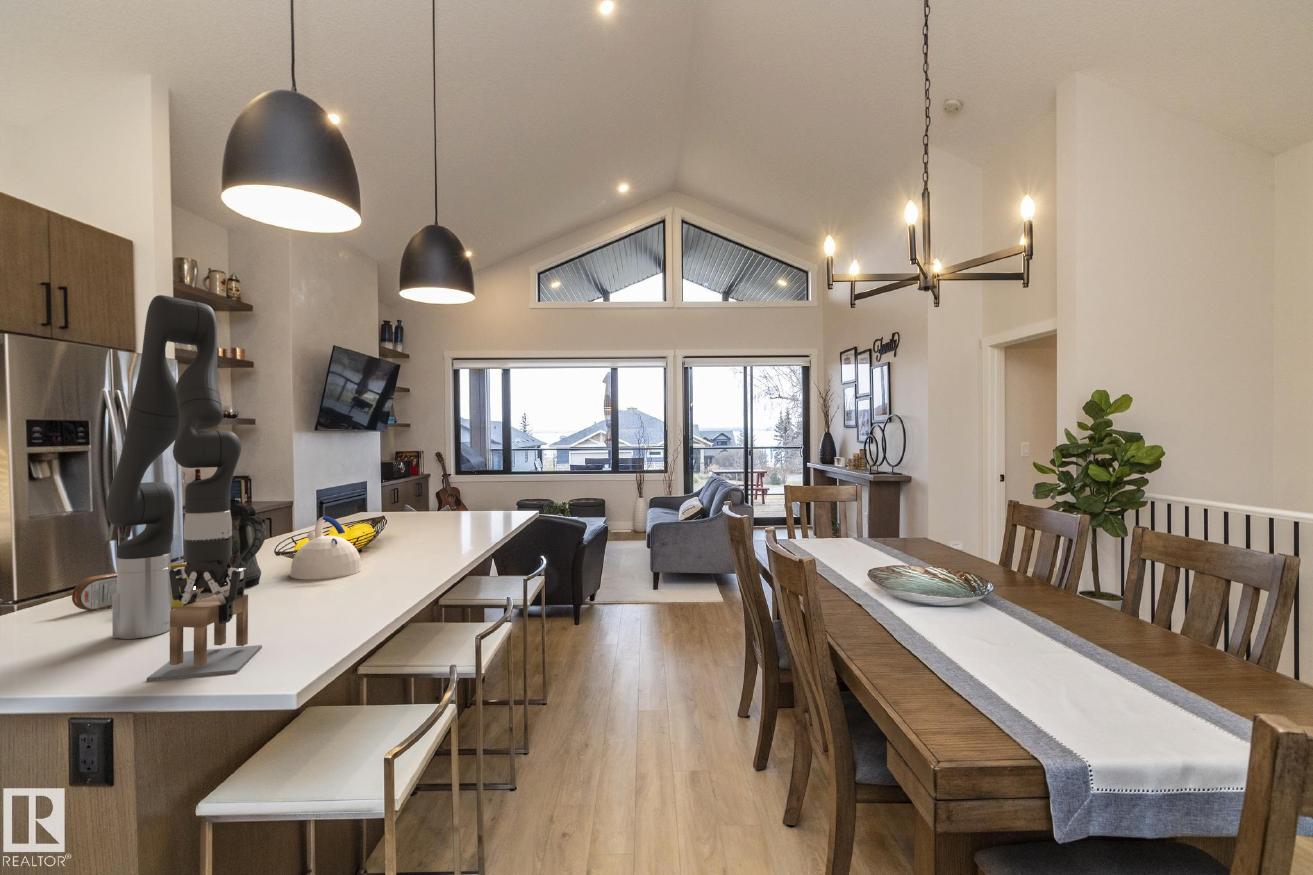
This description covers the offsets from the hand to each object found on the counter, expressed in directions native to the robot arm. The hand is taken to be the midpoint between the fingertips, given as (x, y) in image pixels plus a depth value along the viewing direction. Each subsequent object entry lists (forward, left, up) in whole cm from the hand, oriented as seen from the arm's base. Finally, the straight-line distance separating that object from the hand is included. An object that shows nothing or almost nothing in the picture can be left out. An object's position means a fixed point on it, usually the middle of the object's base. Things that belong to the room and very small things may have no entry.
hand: (208, 622), depth 119 cm
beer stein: (-18, +69, -8) cm, 72 cm away
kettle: (+4, +81, -8) cm, 82 cm away
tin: (-40, +53, -8) cm, 67 cm away
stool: (+2, +6, -1) cm, 7 cm away
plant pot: (-24, +50, -8) cm, 56 cm away
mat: (0, 0, -8) cm, 8 cm away
